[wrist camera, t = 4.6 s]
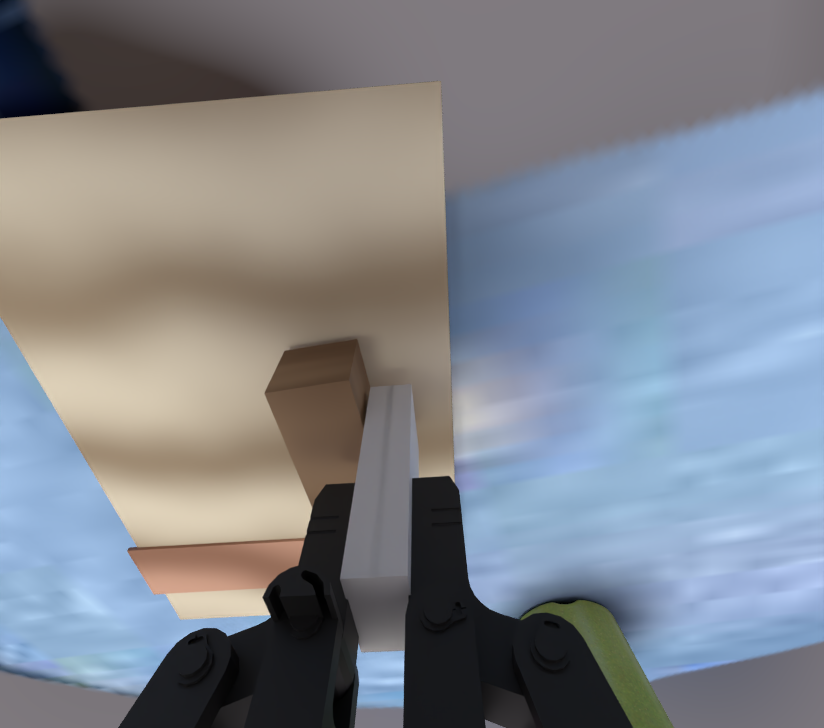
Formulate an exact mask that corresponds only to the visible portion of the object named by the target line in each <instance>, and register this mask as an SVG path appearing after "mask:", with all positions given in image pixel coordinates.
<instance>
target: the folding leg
mask: <svg viewBox="0 0 824 728" xmlns="http://www.w3.org/2000/svg"><path fill="white" fill-rule="evenodd" d="M369 393H370V384H369V380H368V377H367V373H366V369H365V365H364V362H363V358H362V354H361V351H360V347H359V343H358V340H357V339H354V340H348V341H341V342H335V343H329V344H323V345H317V346H311V347H305V348H298V349H292V350H286V351H284V353H283V355H282V357H281V359H280V361H279V363H278V365H277V367H276V370H275V372H274V374H273V376H272V378H271V380H270V382H269V384H268V386H267V388H266V391H265V393H264V394H265V396H266V399H267V401H268V404H269V406H270V408H271V411H272V413H273V416H274V418H275V420H276V423H277V425H278V427H279V430H280V432H281V435H282V437H283V439H284V442H285V444H286V447H287V449H288V451H289V454H290V456H291V458H292V461H293V463H294V466H295V468H296V470H297V473H298V475H299V478H300V480H301V482H302V485H303V487H304V489H305V492H306V494H307V497H308V499H309V501H310V504H311V506H312V508H313V504H314V500H315V499H316V497H317V496H318V494H319V493H320V492H321V490H322V489H323V488H324V486H325V485H326V484H341V483H355V481H356V475H357V468H358V462H359V456H360V449H361V443H362V437H363V431H364V424H365V418H366V412H367V405H368V399H369Z"/></svg>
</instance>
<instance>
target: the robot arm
mask: <svg viewBox="0 0 824 728" xmlns="http://www.w3.org/2000/svg"><path fill="white" fill-rule="evenodd" d="M262 598H263V600H264V602H265V604H266V607H267V609H268V611H269V613H270V615H271V618H269V619H268V620H267V621H265V622H263V623H261V624H259V625H257V626H254V627H251V628H249V629H246V630H243V631H241V632H238V633H235V634H233V635H230V636H228V637H227V635H226V633H224V632H222V631H220V630H218V629H217V628H203V629H200V630H198V631H195V632H192V633H190V634H188V635H187V636H186V637H184V638H183V639H182V640H180V641H179V642H177V643H176V645H175V646H174V647H173V648H172V649H171V650H170V652H169V653H168V654H167V655H166V657H165V658H164V660H163V661H162V663H161V664H160V666H159V667H158V669H157V670H156V672H155V673H154V675H153V676H152V678H151V679H150V681H149V682H148V684H147V685H146V687H145V688H144V690H143V691H142V693H141V694H140V696H139V697H138V699H137V700H136V702H135V704H134V705H133V706H132V708H131V709H130V711H129V712H128V714H127V716H126V717H125V719H124V720H123V721H122V723H121V724H120V726H119V727H118V728H354V725H355V715H356V706H357V696H358V687H359V678H358V670H357V666H356V659H357V650H358V643H359V646H360V649H361V652H382V651H405V660H404V721H403V722H404V723H403V724H404V725H403V728H486V727H485V720H488V721H490V722H493V723H496V724H498V725H501V726H503V727H506V728H633V726H632V724H631V723H630V721H629V719H628V717H627V715H626V714H625V712H624V710H623V708H622V706H621V705H620V703H619V701H618V699H617V697H616V696H615V694H614V692H613V690H612V688H611V687H610V685H609V683H608V681H607V679H606V678H605V676H604V674H603V672H602V670H601V668H600V667H599V665H598V663H597V661H596V659H595V658H594V656H593V654H592V652H591V650H590V649H589V647H588V645H587V643H586V641H585V640H584V638H583V637H582V635H581V634H580V633H579V631H578V630H577V629H576V628H575V626H574V625H573V624H571V623H570V622H568V621H567V620H565V619H564V618H562V617H561V616H558V615H554V614H551V613H547V612H545V613H534V614H532V615H530V616H528V617H526V618H525V619H523V620H519V619H515V618H512V617H509V616H505V615H502V614H499V613H497V612H495V611H492V610H490V609H489V608H487V607H486V606H484V605H483V604H482V603H481V602H480V601H479V600H478V599H477V598H476V596H475V595H474V593H473V591H472V589H471V587H470V584H469V580H468V572H467V563H466V553H465V543H464V534H463V525H462V514H461V505H460V495H459V490H458V488H457V486H456V485H455V483H454V482H453V480H452V479H451V477H450V476H438V477H421V478H419V447H418V438H417V429H416V421H415V412H414V403H413V394H412V385H411V384H405V385H391V386H378V387H370V393H369V399H368V405H367V412H366V418H365V424H364V431H363V437H362V443H361V449H360V456H359V462H358V468H357V475H356V481H355V483H341V484H326V485H325V486H324V488H323V489H322V490H321V492H320V493H319V494H318V496H317V497H316V499H315V500H314V504H313V508H312V512H311V516H310V521H309V524H308V528H307V535H306V536H305V540H304V544H303V548H302V552H301V556H300V560H299V564H298V566H295V567H291V568H289V569H287V570H286V571H284V572H282V573H280V574H279V575H278V576H277V577H276V578H275V579H274V580H273V581H272V582H271V583H270V584H269V585H268V587H267V589H266V591H265V593H264V595H263V597H262Z"/></svg>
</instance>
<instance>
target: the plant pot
mask: <svg viewBox="0 0 824 728" xmlns="http://www.w3.org/2000/svg"><path fill="white" fill-rule="evenodd" d="M545 612H547V613H551V614H554V615H558V616H561V617H562V618H564V619H565V620H567V621H568V622H570V623H571V624H573V625H574V626H575V628H576V629H577V630H578V631H579V633H580V634H581V635H582V637H583V638H584V640H585V641H586V643H587V645H588V647H589V649H590V650H591V652H592V654H593V656H594V658H595V659H596V661H597V663H598V665H599V667H600V668H601V670H602V672H603V674H604V676H605V678H606V679H607V681H608V683H609V685H610V687H611V688H612V690H613V692H614V694H615V696H616V697H617V699H618V701H619V703H620V705H621V706H622V708H623V710H624V712H625V714H626V715H627V717H628V719H629V721H630V723H631V724H632V726H633V728H674V727H673V725H672V723H671V722H670V720H669V718H668V716H667V714H666V712H665V711H664V709H663V707H662V705H661V703H660V701H659V700H658V698H657V696H656V694H655V692H654V690H653V689H652V687H651V685H650V683H649V681H648V679H647V677H646V675H645V674H644V672H643V670H642V668H641V666H640V664H639V663H638V661H637V659H636V657H635V655H634V653H633V652H632V650H631V648H630V646H629V644H628V642H627V640H626V639H625V637H624V635H623V633H622V631H621V629H620V627H619V626H618V624H617V622H616V620H615V618H614V617H613V615H612V614H611V613H610V611H609V610H607V609H606V608H605V607H603V606H601V605H599V604H597V603H594V602H590V601H586V600H577V601H575V602H574V603H571V604H557V603H554V602H550V603H546V604H543V605H541V606H538V607H536V608H534V609H532V610H531V611H529V612H528V613H526V614H525V615H524V616H523V617H522V618H521V619H520V620H523V619H525V618H526V617H528V616H530V615H532V614H534V613H545Z"/></svg>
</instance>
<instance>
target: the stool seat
mask: <svg viewBox="0 0 824 728" xmlns="http://www.w3.org/2000/svg"><path fill="white" fill-rule="evenodd" d="M442 126H443V124H442V95H441V81H433V82H422V83H410V84H398V85H386V86H375V87H364V88H352V89H340V90H328V91H318V92H306V93H294V94H282V95H271V96H259V97H247V98H235V99H224V100H212V101H201V102H189V103H177V104H166V105H154V106H142V107H131V108H119V109H109V110H96V111H84V112H73V113H61V114H49V115H38V116H26V117H14V118H3V119H0V317H1V319H2V320H3V322H4V324H5V325H6V327H7V329H8V330H9V332H10V334H11V335H12V337H13V339H14V340H15V342H16V344H17V346H18V347H19V349H20V351H21V352H22V354H23V356H24V357H25V359H26V361H27V362H28V364H29V366H30V367H31V369H32V371H33V372H34V374H35V376H36V377H37V379H38V381H39V382H40V384H41V386H42V388H43V389H44V391H45V393H46V394H47V396H48V398H49V399H50V401H51V403H52V404H53V406H54V408H55V409H56V411H57V413H58V414H59V416H60V418H61V419H62V421H63V423H64V425H65V426H66V428H67V430H68V431H69V433H70V435H71V436H72V438H73V440H74V441H75V443H76V445H77V446H78V448H79V450H80V451H81V453H82V455H83V456H84V458H85V460H86V461H87V463H88V465H89V467H90V468H91V470H92V472H93V473H94V475H95V477H96V478H97V480H98V482H99V483H100V485H101V487H102V488H103V490H104V492H105V493H106V495H107V497H108V498H109V500H110V502H111V503H112V505H113V507H114V509H115V510H116V512H117V514H118V515H119V517H120V519H121V520H122V522H123V524H124V525H125V527H126V529H127V530H128V532H129V534H130V535H131V537H132V539H133V540H134V542H135V544H136V546H137V547H133V548H129V549H128V550H127V551H128V553H129V555H130V556H131V558H132V560H133V561H134V563H135V564H136V566H137V568H138V569H139V571H140V573H141V574H142V576H143V577H144V579H145V581H146V582H147V584H148V585H149V587H150V589H151V590H152V592H153V594H166V596H167V598H168V599H169V601H170V603H171V604H172V606H173V608H174V609H175V611H176V613H177V614H178V616H179V618H180V619H181V620H182V619H201V618H220V617H239V616H258V615H270V613H269V611H268V609H267V607H266V604H265V602H264V600H263V598H262V597H263V595H264V593H265V591H266V589H267V587H268V585H269V584H270V583H271V582H272V581H273V580H274V579H275V578H276V577H277V576H278V575H279V574H280V573H282V572H284V571H286V570H287V569H289V568H291V567H295V566H298V564H299V560H300V556H301V552H302V548H303V544H304V540H305V536H306V535H307V528H308V524H309V521H310V516H311V512H312V506H311V504H310V501H309V499H308V497H307V494H306V492H305V489H304V487H303V485H302V482H301V480H300V478H299V475H298V473H297V470H296V468H295V466H294V463H293V461H292V458H291V456H290V454H289V451H288V449H287V447H286V444H285V442H284V439H283V437H282V435H281V432H280V430H279V427H278V425H277V423H276V420H275V418H274V416H273V413H272V411H271V408H270V406H269V404H268V401H267V399H266V396H265V394H264V393H265V391H266V388H267V386H268V384H269V382H270V380H271V378H272V376H273V374H274V372H275V370H276V367H277V365H278V363H279V361H280V359H281V357H282V355H283V353H284V351H286V350H292V349H298V348H305V347H311V346H317V345H323V344H329V343H335V342H341V341H348V340H354V339H357V340H358V343H359V347H360V351H361V354H362V358H363V362H364V365H365V369H366V373H367V377H368V380H369V384H370V387H378V386H391V385H405V384H411V385H412V394H413V403H414V412H415V421H416V429H417V438H418V447H419V478H421V477H438V476H450V477H451V479H452V480H453V482H454V483H455V477H454V448H453V418H452V389H451V359H450V330H449V300H448V271H447V241H446V212H445V183H444V153H443V127H442Z"/></svg>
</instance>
